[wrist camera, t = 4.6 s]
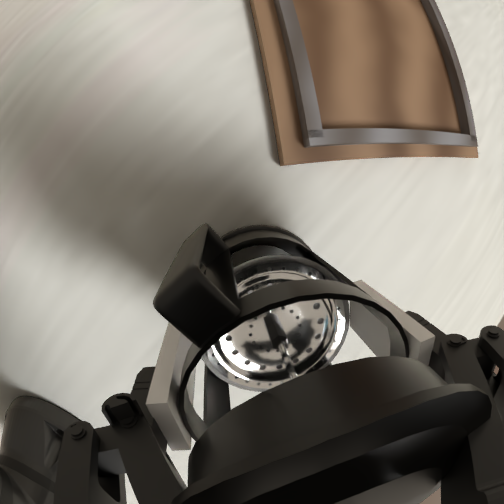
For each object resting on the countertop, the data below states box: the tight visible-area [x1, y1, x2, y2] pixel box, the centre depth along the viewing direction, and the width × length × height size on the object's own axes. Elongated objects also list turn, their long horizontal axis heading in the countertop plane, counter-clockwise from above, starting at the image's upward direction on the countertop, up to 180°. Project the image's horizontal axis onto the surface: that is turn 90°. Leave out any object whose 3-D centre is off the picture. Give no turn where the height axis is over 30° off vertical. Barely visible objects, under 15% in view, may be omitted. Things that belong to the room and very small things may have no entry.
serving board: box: [250, 0, 478, 166], centre depth 16 cm, size 20×22×2 cm
